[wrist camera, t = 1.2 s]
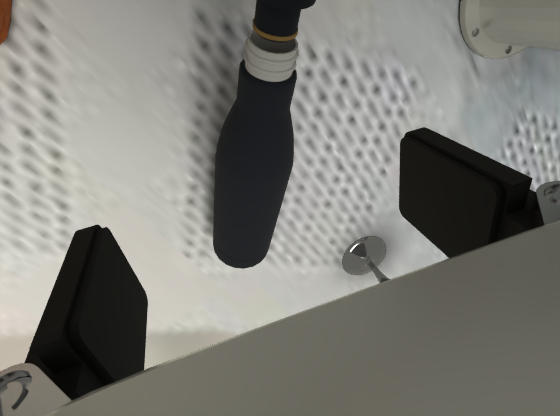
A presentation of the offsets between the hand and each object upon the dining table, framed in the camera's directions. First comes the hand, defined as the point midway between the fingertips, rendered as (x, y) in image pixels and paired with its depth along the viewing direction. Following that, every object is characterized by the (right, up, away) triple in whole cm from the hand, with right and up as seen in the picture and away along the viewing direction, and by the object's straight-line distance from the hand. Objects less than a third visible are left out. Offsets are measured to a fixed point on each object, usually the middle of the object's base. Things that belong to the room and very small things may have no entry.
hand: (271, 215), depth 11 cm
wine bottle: (-4, -4, +29) cm, 30 cm away
